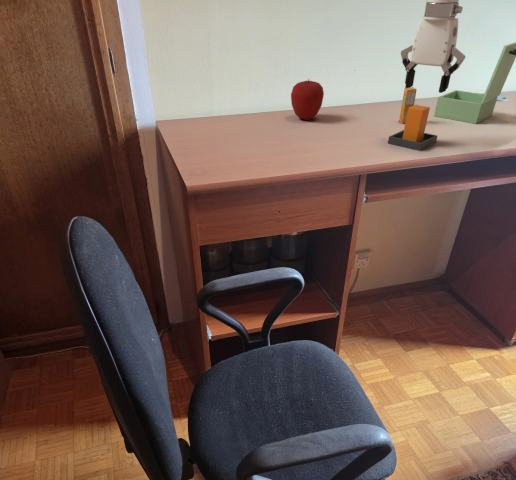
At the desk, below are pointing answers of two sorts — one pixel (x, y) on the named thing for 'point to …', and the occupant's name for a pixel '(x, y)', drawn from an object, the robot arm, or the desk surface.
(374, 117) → the desk surface
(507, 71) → the lunchbox lid
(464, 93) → the box
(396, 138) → the tray
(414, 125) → the orange block
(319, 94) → the apple
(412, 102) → the supplement box
